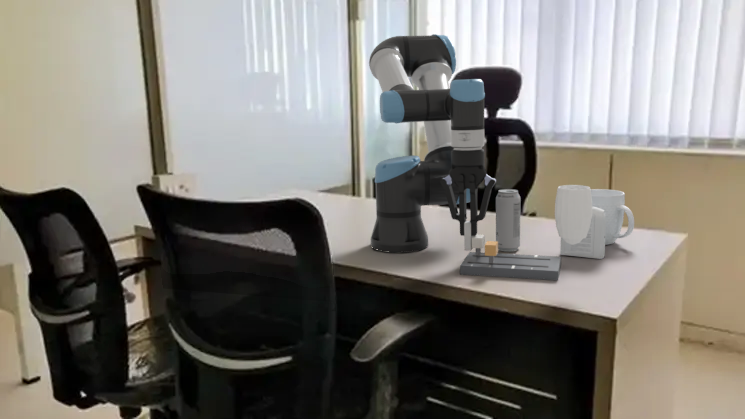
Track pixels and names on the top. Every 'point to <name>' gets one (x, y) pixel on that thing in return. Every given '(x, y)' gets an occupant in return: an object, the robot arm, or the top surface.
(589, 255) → the photo printer
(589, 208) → the cup
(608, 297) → the top surface
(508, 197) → the energy drink can
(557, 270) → the console
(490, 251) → the fader orange
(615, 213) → the mug
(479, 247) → the fader white
